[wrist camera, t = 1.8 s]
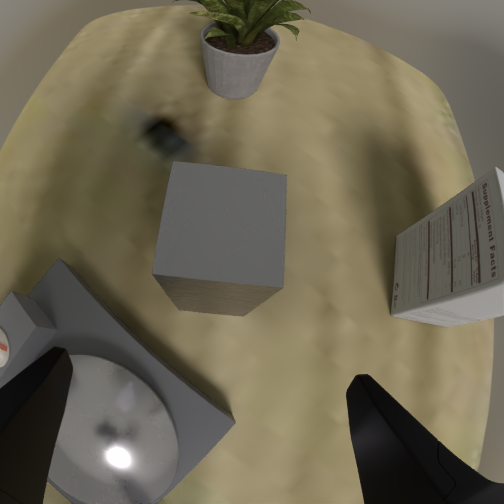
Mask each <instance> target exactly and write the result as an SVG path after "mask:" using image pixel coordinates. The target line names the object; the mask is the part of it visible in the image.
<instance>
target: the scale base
mask: <svg viewBox="0 0 504 504" xmlns="http://www.w3.org/2000/svg"><path fill="white" fill-rule="evenodd" d="M54 346H59V347H63V348H66V349H67V351H68V353H69V355H85V354H87V355H96V356H101V357H105V358H108V359H111V360H114V361H117V362H119V363H121V364H123V365H125V366H127V367H128V368H130V369H131V370H133V371H134V372H136V373H137V374H138V375H140V376H141V377H142V378H143V379H145V380H146V381H147V382H148V383H149V384H150V385H151V386H152V387H153V388H154V389H155V391H156V392H157V393H158V394H159V395H160V397H161V398H162V400H163V401H164V403H165V404H166V406H167V407H168V409H169V411H170V413H171V415H172V417H173V420H174V423H175V425H176V429H177V433H178V438H179V458H178V463H177V468H176V472H175V475H174V477H173V480H172V482H171V484H170V485H169V487H168V488H167V490H166V491H165V492H164V493H163V494H162V495H161V496H160V497H159V498H157V499H156V500H155V501H153V502H151V503H149V504H157V503H158V502H159V501H160V500H161V499H162V498H163V497H164V496H165V495H167V494H168V493H169V492H170V491H171V490H172V489H173V488H174V487H175V486H176V485H177V484H178V483H179V482H180V481H181V480H182V479H183V478H184V477H185V476H186V475H187V474H188V473H189V472H190V471H191V470H192V469H193V468H194V467H195V466H196V465H197V464H198V463H199V462H200V461H201V460H202V459H203V458H204V457H205V456H206V455H207V454H208V453H209V451H210V450H211V449H212V448H213V447H214V446H215V445H216V444H217V443H218V442H219V441H220V440H221V439H222V437H223V436H224V435H225V434H226V433H227V432H228V431H229V430H230V429H231V427H232V426H233V425H234V424H235V423H236V422H235V419H234V417H233V415H232V414H230V413H229V412H227V411H226V410H225V409H223V408H222V407H221V406H219V405H218V404H217V403H215V402H214V401H213V400H211V399H210V398H209V397H207V396H206V395H205V394H204V393H202V392H201V391H200V390H199V389H197V388H196V387H195V386H194V385H192V384H191V383H190V382H189V381H187V380H186V379H185V378H184V377H183V376H181V375H180V374H179V373H178V372H177V371H175V370H174V369H173V368H172V367H171V366H170V365H168V364H167V363H166V362H165V361H164V360H163V359H161V358H160V357H159V356H158V355H157V354H156V353H155V352H154V351H153V350H151V349H150V348H149V347H148V346H147V345H146V344H145V343H144V342H143V341H142V340H141V339H140V338H138V337H137V336H136V335H135V334H134V333H133V332H132V331H131V330H130V329H129V328H128V327H127V326H126V325H125V324H124V323H123V322H122V321H121V320H120V319H119V318H118V317H117V316H116V315H115V314H114V313H113V312H112V311H111V310H110V309H109V308H108V307H107V306H106V305H105V304H104V303H103V302H102V301H101V300H100V298H99V297H98V296H97V295H96V294H95V293H94V292H93V291H92V290H91V289H90V288H89V287H88V285H87V284H86V283H85V282H84V281H83V280H82V279H81V278H80V276H79V275H78V274H77V273H76V272H75V271H74V270H73V268H72V267H71V266H70V265H69V264H67V263H66V262H64V261H63V260H61V259H60V258H59V259H58V260H57V261H56V262H55V264H54V265H53V266H52V267H51V268H50V269H49V271H48V272H47V273H46V274H45V276H44V277H43V278H42V279H41V281H40V282H39V283H38V284H37V286H36V287H35V288H34V289H33V291H32V292H31V293H30V295H29V296H28V297H27V296H24V295H21V294H18V293H16V292H13V291H11V292H10V293H9V294H8V296H7V297H6V299H5V300H4V301H3V303H2V304H1V306H0V388H1V387H2V386H3V385H5V384H6V383H7V382H8V381H10V380H11V379H12V378H13V377H15V376H16V375H17V374H19V373H20V372H21V371H22V370H24V369H25V368H26V367H27V366H29V365H30V364H31V363H33V362H34V361H35V360H37V359H38V358H39V357H40V356H42V355H43V354H44V353H46V352H47V351H48V350H50V349H51V348H52V347H54ZM47 481H48V482H49V483H50V484H51V485H52V486H53V487H54V488H55V489H57V490H58V491H59V492H60V493H61V494H62V495H63V496H64V497H66V498H67V499H68V500H69V501H70V502H72V503H73V504H87V503H84V502H82V501H80V500H78V499H76V498H74V497H72V496H71V495H69V494H68V493H66V492H65V491H63V490H62V489H61V488H60V487H58V486H57V485H56V484H55V483H54V482H53V481H52V480H51V479H50V478H49V477H48V478H47Z"/></svg>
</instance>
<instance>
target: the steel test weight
mask: <svg viewBox="0 0 504 504" xmlns="http://www.w3.org/2000/svg"><path fill="white" fill-rule="evenodd" d="M286 182H287V175H284V174H277V173H270V172H264V171H257V170H249V169H242V168H234V167H226V166H217V165H208V164H198V163H188V162H177V161H173V164H172V169H171V173H170V178H169V182H168V187H167V192H166V197H165V201H164V207H163V212H162V217H161V222H160V228H159V233H158V239H157V245H156V251H155V257H154V264H153V271H152V275H153V276H154V277H155V279H156V280H157V282H158V283H159V284H160V286H161V287H162V288H163V290H164V291H165V293H166V294H167V295H168V297H169V298H170V299H171V301H172V302H173V303H174V305H175V306H176V307H177V309H178V310H184V311H192V312H202V313H211V314H222V315H233V316H245V315H246V314H248V313H249V312H250V311H252V310H253V309H255V308H256V307H257V306H259V305H260V304H262V303H263V302H264V301H266V300H267V299H269V298H270V297H271V296H273V295H274V294H275V293H277V292H278V291H279V290H281V289H282V288H283V286H284V260H285V229H286Z"/></svg>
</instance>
